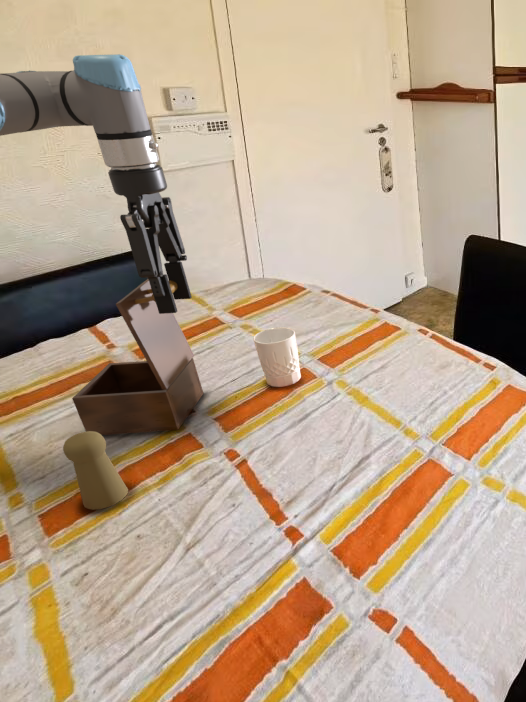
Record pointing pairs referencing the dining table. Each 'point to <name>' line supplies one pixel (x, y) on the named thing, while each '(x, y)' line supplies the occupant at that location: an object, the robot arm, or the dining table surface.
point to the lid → (156, 333)
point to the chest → (136, 399)
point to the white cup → (278, 356)
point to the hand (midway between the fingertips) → (175, 305)
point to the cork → (94, 470)
